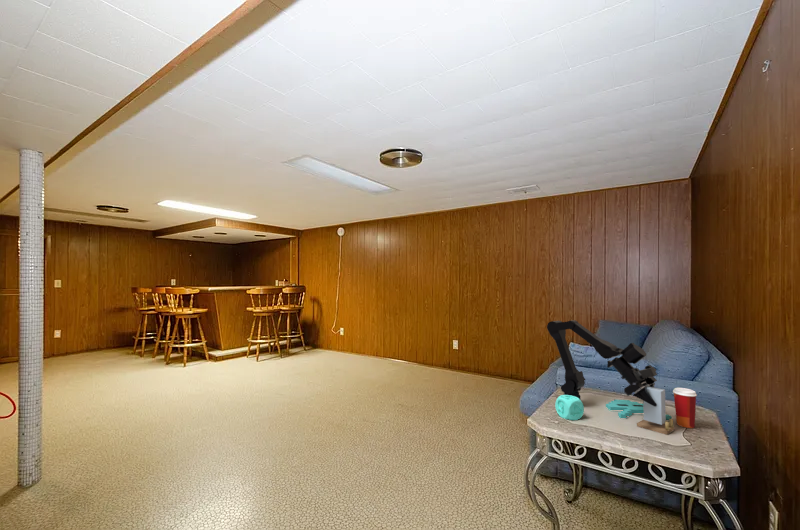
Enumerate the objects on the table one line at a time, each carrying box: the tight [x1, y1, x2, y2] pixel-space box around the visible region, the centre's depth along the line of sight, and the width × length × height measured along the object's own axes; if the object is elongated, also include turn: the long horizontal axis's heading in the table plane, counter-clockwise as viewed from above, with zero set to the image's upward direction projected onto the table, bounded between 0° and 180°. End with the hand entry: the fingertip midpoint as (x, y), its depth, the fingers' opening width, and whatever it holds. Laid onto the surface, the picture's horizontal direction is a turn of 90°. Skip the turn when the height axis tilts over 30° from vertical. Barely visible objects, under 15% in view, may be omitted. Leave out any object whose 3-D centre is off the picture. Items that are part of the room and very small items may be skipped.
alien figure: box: [605, 399, 673, 420], centre depth 160 cm, size 20×2×20 cm
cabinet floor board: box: [636, 418, 675, 435], centre depth 141 cm, size 10×8×4 cm
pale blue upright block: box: [642, 386, 667, 425], centre depth 141 cm, size 6×4×12 cm
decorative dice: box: [554, 394, 585, 421], centre depth 152 cm, size 8×8×8 cm
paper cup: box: [672, 387, 698, 429], centre depth 144 cm, size 8×8×14 cm
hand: (658, 404), depth 140 cm, fingers closed on pale blue upright block, 4 cm apart
